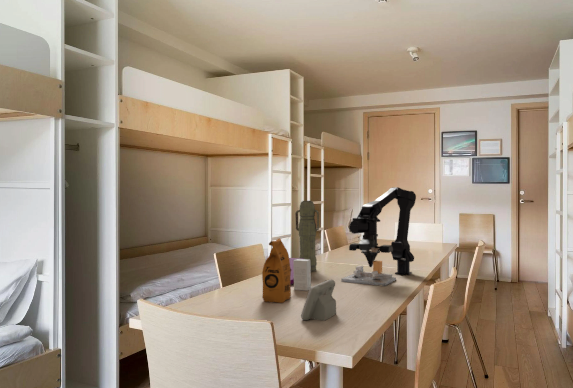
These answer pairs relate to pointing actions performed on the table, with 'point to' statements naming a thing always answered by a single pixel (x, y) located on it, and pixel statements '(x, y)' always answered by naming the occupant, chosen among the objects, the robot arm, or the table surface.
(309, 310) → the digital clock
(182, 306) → the table surface
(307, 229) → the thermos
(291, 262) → the purple package
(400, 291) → the table surface
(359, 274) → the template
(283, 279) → the coffee package
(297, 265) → the skincare box
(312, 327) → the table surface
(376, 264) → the slider
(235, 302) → the table surface
